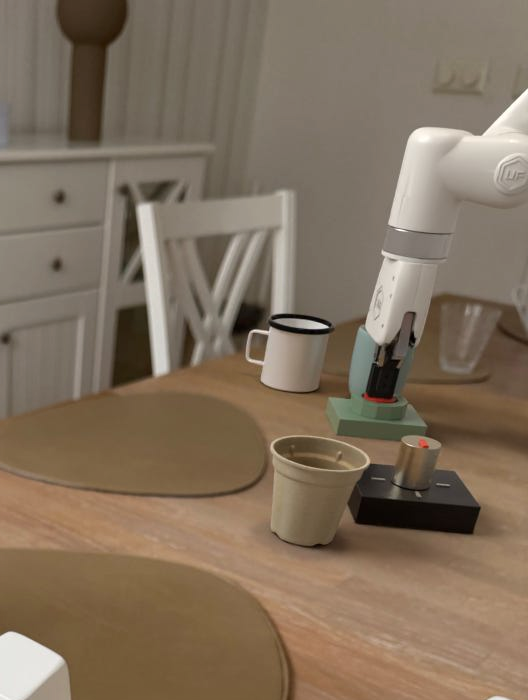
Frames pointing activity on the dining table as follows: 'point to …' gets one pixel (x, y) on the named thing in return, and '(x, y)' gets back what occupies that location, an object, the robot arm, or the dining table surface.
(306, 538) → the flower pot
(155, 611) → the dining table surface
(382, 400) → the button
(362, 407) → the button housing
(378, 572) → the dining table surface
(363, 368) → the cup
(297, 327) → the mug
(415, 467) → the knob
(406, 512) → the dial panel
